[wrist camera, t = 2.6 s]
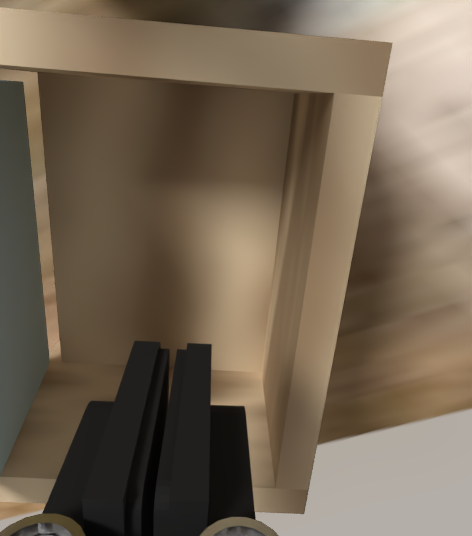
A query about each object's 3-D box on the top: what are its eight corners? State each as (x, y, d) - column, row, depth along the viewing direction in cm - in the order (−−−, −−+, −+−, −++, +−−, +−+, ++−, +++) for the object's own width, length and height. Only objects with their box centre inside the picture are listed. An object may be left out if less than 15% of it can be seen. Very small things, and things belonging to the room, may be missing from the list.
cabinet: (318, 65, 19) (392, 42, 10) (278, 370, 24) (303, 513, 16) (22, 39, 18) (-153, -7, 10) (51, 358, 24) (-43, 499, 16)
